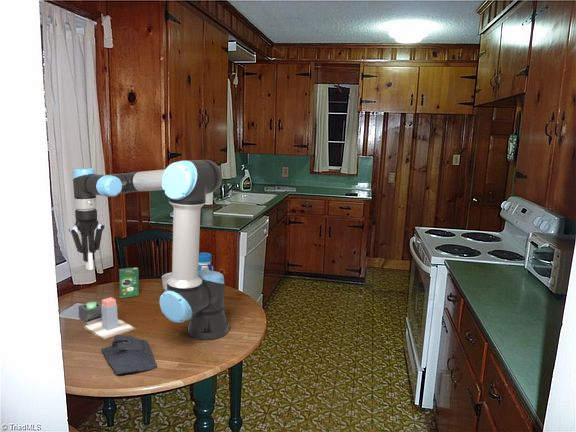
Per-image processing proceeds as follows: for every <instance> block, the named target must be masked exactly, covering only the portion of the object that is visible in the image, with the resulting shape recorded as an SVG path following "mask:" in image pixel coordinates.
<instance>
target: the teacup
mask: <svg viewBox="0 0 576 432" xmlns="http://www.w3.org/2000/svg"><path fill="white" fill-rule="evenodd" d="M171 276H172V271H171V272H167V273H164V274H163V275H162V276H161V283H162V288H163V290H164V292H165V291H167V280H168V279H169V278H170V277H171Z"/></svg>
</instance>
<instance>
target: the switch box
mask: <svg viewBox="0 0 576 432" xmlns="http://www.w3.org/2000/svg"><path fill="white" fill-rule="evenodd" d="M94 301H95V302H96V306H97V307H94V308H91V309H88V308H87V307H86V303H85V304H80V305H78V317H79V319H80V320H81V321H83V322H85V323H86V322H89V321H92V320H95V319H99V318H102V311H101V305H102V303H100V302H99V301H96V300H94Z"/></svg>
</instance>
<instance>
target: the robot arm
mask: <svg viewBox="0 0 576 432" xmlns="http://www.w3.org/2000/svg"><path fill="white" fill-rule="evenodd" d="M222 176H223V174H222V170H221V168H220V167H219V165H217V163H216V162H213V161H212V160H208V159H196V160H193V159H192V160H179V161H176V162H172V163H170V164H169V165H168V166H167V167H166V168H165V169H156V170H145V171H144V170H143V171H133V172H126V173H125V172H124V173H113V174H96V171H95V169H94V168H93V167H76V168H74V169H73V170H72V184H73V185H72V186H73V196H74V197H73V199H74V200H73V201H74V209H75V210H74V215H75V223H74V226H73V227H72V228H69V229H68V232H69V233H70V234H71V235H72V239H73V242H74V245H75V249H76V251H77V252H78V253H81V254H82V261H83V262H85V269H86V270H88V271H92V270H94V261H95V259H96V257H95V253H97V252H96V251H99V250H100V248H101V247H100V246H101V241H102V235H103V231H104V229H105V224H100V222H99V220H98V210H97V207H98V206H97V204H98V203H97V196H103V197H107V198H108V197H109V198H110V197H117V196H118V195H120V194H128V193H135V192H136V193H138V192H140V193H141V192H152V191H153V192H154V191H163V192H164V194H165V195H166V196H167V198H168V203H169V204H170V205H171V206H172V207H173V216H172V219H173V221H172V222H173V223H172V262H171V266H172V267H171V272H172V276H171V277H170V278H169V279H168V280H167V291H165V290H164V292H163V293H162V294H161V295H160V296H159V302H158V303H159V307H160V310H161V312H162V314H163V315H164V317H165V318H166V319H168V320H169V321H171V322H173V323H176V324H180V323H184V322H185V321H189V323H188V325H187V333H188V335H189V336H190V337H191V338H193V339H196V340H204V341H205V340H215V339H220V338H222V337H224V336H225V335H227V334H228V332H229V330H230V329H229V328H230V327H229V326H230V324H229V321H228V319H227V315H226V313H225V277H224V275H223V273H221V272H219V271H215V270H213V271H209V270H201V271H198V261H199V253H200V235H201V234H200V232H201V230H200V229H201V228H200V227H201V209H202V207H204V205H206V195H207V194H208V195H209V194H211V193H214V192H216V190H218V188H220V186H221V183H222V180H223V177H222ZM78 231H79V232H80V237H81V239H80V237H79V233H78Z"/></svg>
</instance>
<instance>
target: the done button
mask: <svg viewBox="0 0 576 432" xmlns="http://www.w3.org/2000/svg"><path fill="white" fill-rule="evenodd" d="M95 301H96V300H94V301H92V300H91V301H88V302H86V303H85V304H86V307H87V308H88V309H91V308H94V307H97V306H96V302H97V301H96V302H95Z"/></svg>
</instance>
